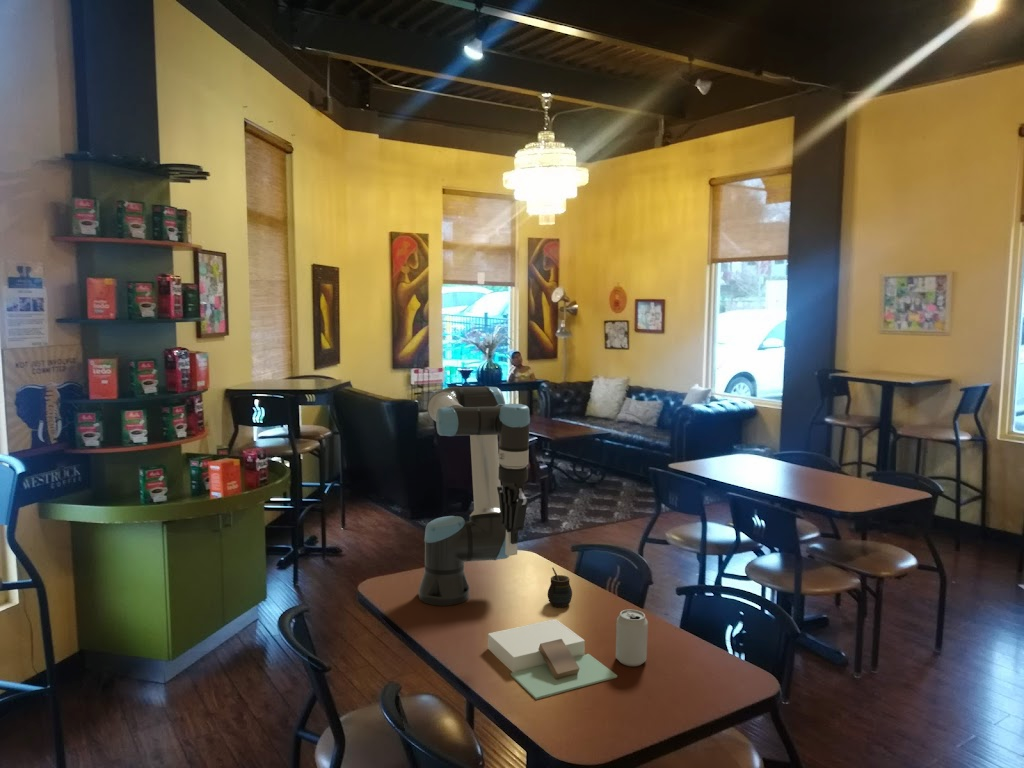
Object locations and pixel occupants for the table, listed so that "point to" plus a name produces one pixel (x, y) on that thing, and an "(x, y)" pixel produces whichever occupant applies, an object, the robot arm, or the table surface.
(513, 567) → the table surface
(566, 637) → the white flat block
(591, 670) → the mat
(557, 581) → the mate gourd
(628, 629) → the can
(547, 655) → the brown wooden slab
